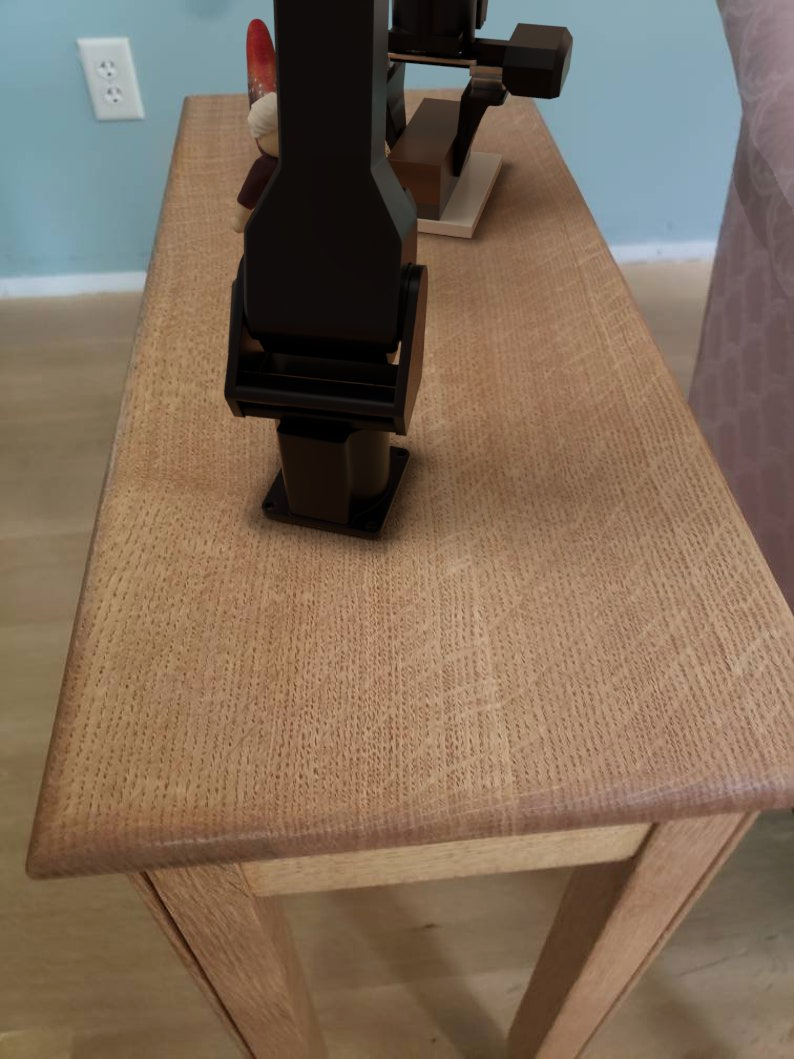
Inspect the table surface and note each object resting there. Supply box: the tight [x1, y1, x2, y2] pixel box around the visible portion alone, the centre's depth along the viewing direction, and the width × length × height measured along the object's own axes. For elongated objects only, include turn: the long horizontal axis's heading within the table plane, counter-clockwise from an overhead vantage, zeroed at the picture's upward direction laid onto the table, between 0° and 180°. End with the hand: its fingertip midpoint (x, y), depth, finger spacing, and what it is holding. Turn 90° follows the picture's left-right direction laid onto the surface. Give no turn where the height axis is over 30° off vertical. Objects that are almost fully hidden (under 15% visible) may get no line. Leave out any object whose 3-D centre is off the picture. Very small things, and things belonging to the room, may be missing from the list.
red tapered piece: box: [245, 18, 277, 156], centre depth 65 cm, size 3×18×10 cm, turn 10°
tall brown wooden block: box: [386, 97, 472, 221], centre depth 65 cm, size 11×4×4 cm, turn 165°
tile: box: [417, 150, 504, 239], centre depth 67 cm, size 12×9×1 cm
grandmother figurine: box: [231, 92, 279, 234], centre depth 55 cm, size 8×4×13 cm, turn 143°
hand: (430, 171), depth 66 cm, fingers closed on tall brown wooden block, 4 cm apart
